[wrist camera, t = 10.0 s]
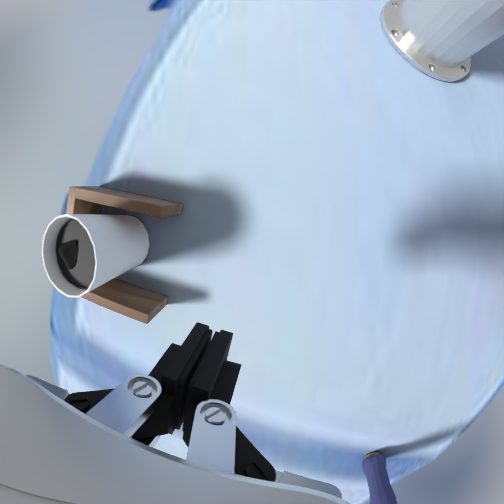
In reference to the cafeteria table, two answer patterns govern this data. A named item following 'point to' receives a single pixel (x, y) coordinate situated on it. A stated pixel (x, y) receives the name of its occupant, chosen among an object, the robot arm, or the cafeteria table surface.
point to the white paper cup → (91, 250)
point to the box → (114, 291)
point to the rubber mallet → (378, 479)
